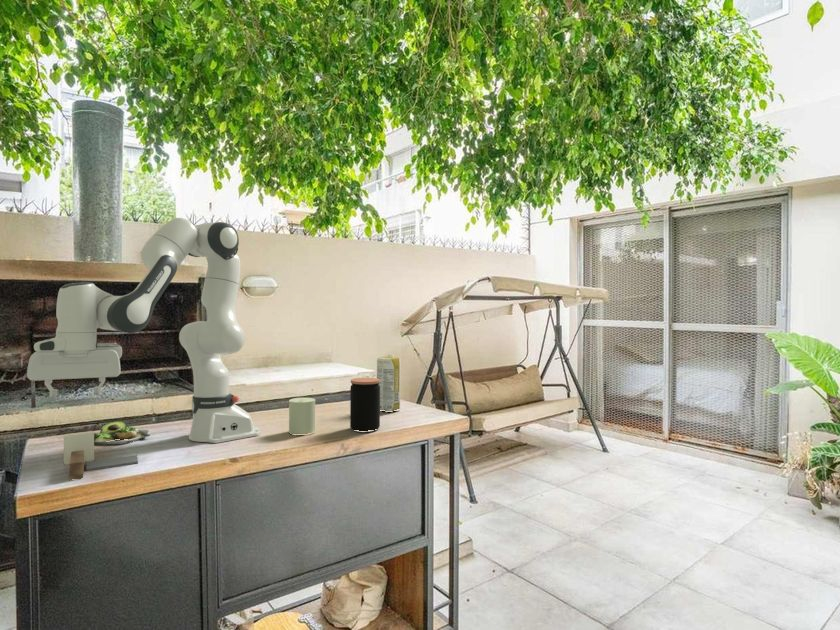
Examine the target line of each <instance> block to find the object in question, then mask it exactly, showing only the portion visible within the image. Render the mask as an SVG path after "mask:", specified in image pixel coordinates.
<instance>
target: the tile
mask: <svg viewBox="0 0 840 630" xmlns="http://www.w3.org/2000/svg"><path fill="white" fill-rule="evenodd" d="M94 434H95V431H94V430H93V431H82V432H74V433H73V432H72V433H66V434H65V433H64V435H63V465H64V464H65V465H69V463H70V457H71V452H74V451H82V450H84V463H85V461H92V460H94V461H95V444H94Z"/></svg>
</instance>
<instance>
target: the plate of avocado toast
mask: <svg viewBox="0 0 840 630" xmlns="http://www.w3.org/2000/svg"><path fill="white" fill-rule="evenodd" d="M147 437H151V434H150V430H149V429H139V428H136V427H134V426H127V424H126V423H125V422H123V421H120V420H119V421H117V420H116V421H112V422H109V423H106V424H104V425H102V426H101V428H100V432H94V445H95V444H120V445H124V444H123V443H126V444H129V443H128V442H131V443H134V442H137V441H140V440H142V438H143V439H144V438H147ZM115 439H120V440H122V441H110V440H115ZM124 439H128V440H124ZM139 439H140V440H139ZM136 440H137V441H136ZM106 441H110V442H106ZM133 441H134V442H133Z"/></svg>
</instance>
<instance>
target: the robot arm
mask: <svg viewBox="0 0 840 630" xmlns="http://www.w3.org/2000/svg"><path fill="white" fill-rule="evenodd" d="M237 231H238V230H237V229H236V228H235V226H233V225H232V224H229V223H227V222H223V221H216V222H204V223H200V224H196V225H195V224H193V223H192V222H191V221H190V220H188V219H186V218H183V217H175V218H172V219H170V220H169V221H167V222H166V223H164V224H163V225H162V226H161V227H159V229H158V230H156V231H155V232H154V233H153V234H152V236H150V238H149V239H148V240H147V241H145V243H144V245H143V247H142V249H141V251H140V258H141V260H142V263H143V265H144V266H145V267H146V268H147V269H148V270H147V273H146V274H145V275H144V277H142V279H141V281H140V282H139V284H137V286H136V287H135V289H134V290H133V291H131V292H130V293H127V294H124V295H113V294H111V293H109V292H107V291H104V290H102V289H101V288H99V287H98V286H96V285H95V284H94V282H90V281H83V282H82V281H81V282H72V283H66V284H64V285H61V287H60V288H59V290H58V294H57V298H56V311H55V312H56V313H55V314H56V315H55V317H56V319H57V327H56V329H55V337H51V338H49V337H48V338H46V339H44V340H40V341H37V342H35V343H34V345H33V349H34V351H35V352H34V353H32V354H31V356H30V357H29V359H28V364H27V370H26V371H27V372H26V377H27V379H28V380H29V381H44V386H45V387H46V388H47V389H48V391H49V398H57V397H58V389H56V388H55V389H54V387H53V386H52V383H53V381H54V380H72V379H74V380H75V379H95V378H98V382H99V385H98V386H96V387H95V386H94V387H93V395H101V389H102V387H103V386H104V384H105V382H106V378H117V377H118V376H120V375H121V360H120V359H121V358H122V356H123V348H122V346H121V345H120V344H117V343H116V342H109V343H108V342H97V339H98V338H97V333H98V332H97V331H98V329H101V330H106V331H115V332H116V331H117V332H121V333H127V334H134V333H138V332H140V331H142V330H144V329H145V328H146V327H147V326H148V324H149V323H150V321H151V318H152V315H153V312H154V309H155V306H156V304H157V303H158V301H159V300H160V298H161V297H162V296H163V294H164V292H165V291H166V289H167V288H168V286H169V285H170V283H171V282H172V280H173V279H174V277H175V275H176V273H177V270H178V268H179V266H181V264H182V263H183V261H184V260H186V257H188V256H190V257H194V258H206V261H207V270H206V273H205V277H204V278H205V279H204V282H203V283H204V284H203V288H202V292H201V298H200V301H201V305H203V306H204V308H205V311H206V321H205V320H198V321H193V322H190V323H187V324H185V325H184V326H182V327H181V329H180V331H179V335H178V336H179V337H178V339H179V343H180V345H181V347H183V349H184V350H185V351H186V353H187V356H188V358H189V361H190V365H191V369H192V373H193V374H192V375H193V395H192V400H191V411H192V421H191V428H190V432H189V436H188V440H189V441H191V442H192V441H193V442H199V443H201V442H203V443H211V444H218V443H222V442H223V443H224V442H229V441H234V440H241V439H245V438H251V437H257V436H259V435H260V428H259V427H258V426H255V425H254V422H253V419H252V418H253V417H252V416H251V414H250V413H249V412H247V410H244V409H243V408H242V407H240V406H239V405H237V404H235V403H238V402H239V401H240V399H239V396H237V395H234V394H232V393H230V371H229V369H228V368H227V366H225V365H224V363H223V360H222V357H221V356H225V355H231V354H234V353H235V354H236V353H238V352H239V351H241V350H242V348H243V347H244V345H245V343H246V342H245V341H246V335H245V331H244V329H243V328H242V327H241V325H240V324H239V321H238V318H237V299H238V293H239V288H240V287H239V286H240V282H241V273H242V272H241V270H242V269H241V264H242V263H241V258H240V257H239V255H238V251H239V244H240V243H239V242H240V241H239V239H240V238H239V235H238V234H239V233H238V232H237Z"/></svg>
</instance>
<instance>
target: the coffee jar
mask: <svg viewBox="0 0 840 630" xmlns="http://www.w3.org/2000/svg"><path fill="white" fill-rule="evenodd" d="M350 383H351V385H350V389H349V390H350V392H349V393H350V400H349V401H350V402H349V403H350V406H349V408H350V411H349V412H350V417H349V418H350V420H349V422H350V425H349V427H350V429H351V430H352V429H353V430H359V431H368V430H375V429H378V430H379V428H380V426H381V425H380V424H381V421H380V420H381V418H380V417H381V411H380V386H379V383H380V379H377V377H356V378H351V379H350ZM353 430H352V431H353Z"/></svg>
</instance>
